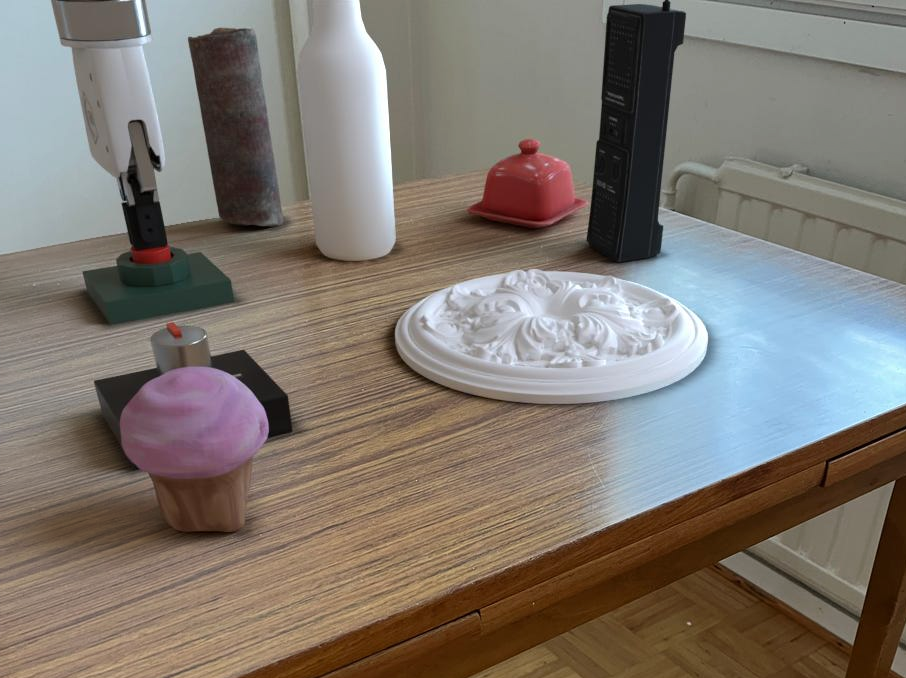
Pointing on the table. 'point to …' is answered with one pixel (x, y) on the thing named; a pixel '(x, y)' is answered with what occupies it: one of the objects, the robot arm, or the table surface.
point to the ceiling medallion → (551, 338)
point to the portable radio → (633, 129)
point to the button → (151, 255)
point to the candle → (236, 126)
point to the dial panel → (238, 364)
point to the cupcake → (196, 445)
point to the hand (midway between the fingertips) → (149, 245)
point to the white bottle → (346, 134)
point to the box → (157, 286)
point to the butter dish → (528, 189)
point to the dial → (180, 348)
